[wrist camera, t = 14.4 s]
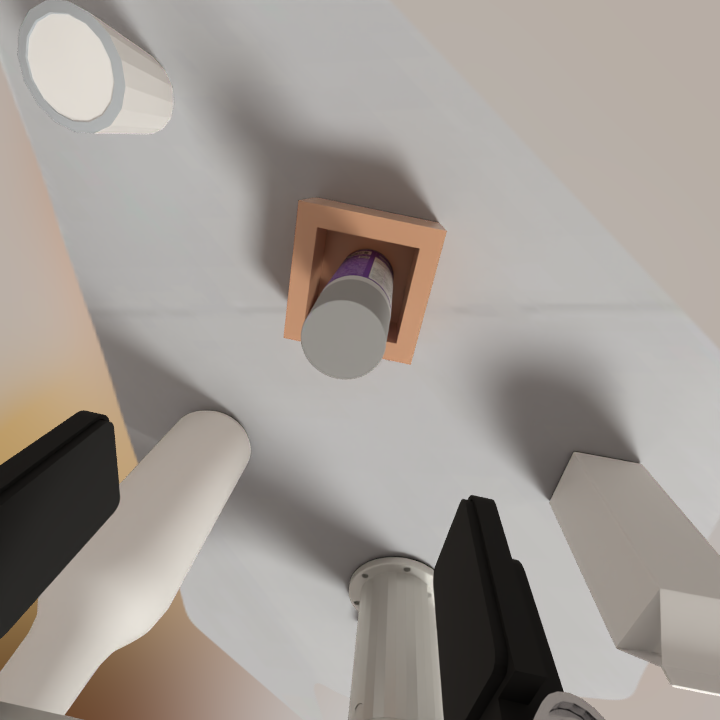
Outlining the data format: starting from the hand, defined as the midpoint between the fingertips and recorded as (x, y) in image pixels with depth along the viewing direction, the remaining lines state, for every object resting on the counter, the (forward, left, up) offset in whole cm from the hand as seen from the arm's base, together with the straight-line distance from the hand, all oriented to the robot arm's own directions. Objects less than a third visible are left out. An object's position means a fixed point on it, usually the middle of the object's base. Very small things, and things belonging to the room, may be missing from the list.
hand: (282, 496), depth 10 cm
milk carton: (-17, -28, -27) cm, 42 cm away
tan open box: (0, 0, -27) cm, 27 cm away
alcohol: (-22, +13, -27) cm, 37 cm away
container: (0, 0, -26) cm, 26 cm away
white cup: (+10, +20, -27) cm, 35 cm away
